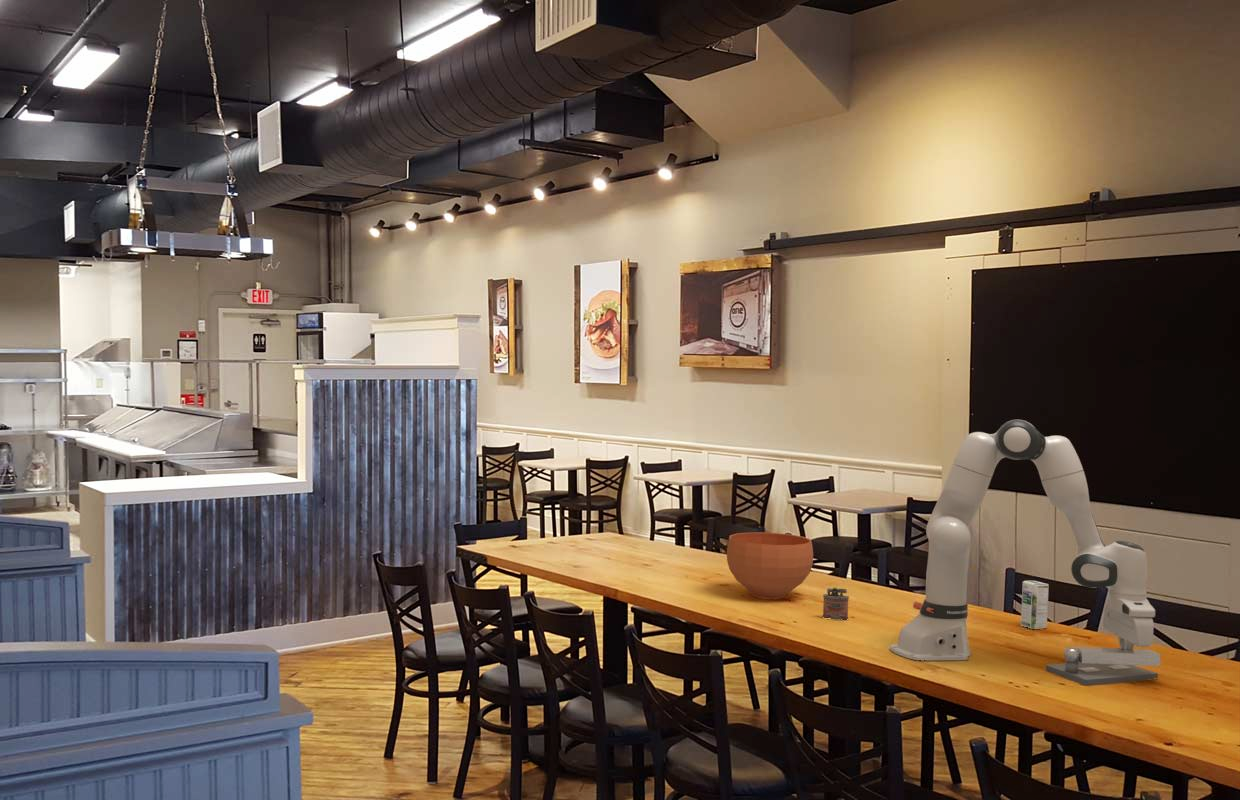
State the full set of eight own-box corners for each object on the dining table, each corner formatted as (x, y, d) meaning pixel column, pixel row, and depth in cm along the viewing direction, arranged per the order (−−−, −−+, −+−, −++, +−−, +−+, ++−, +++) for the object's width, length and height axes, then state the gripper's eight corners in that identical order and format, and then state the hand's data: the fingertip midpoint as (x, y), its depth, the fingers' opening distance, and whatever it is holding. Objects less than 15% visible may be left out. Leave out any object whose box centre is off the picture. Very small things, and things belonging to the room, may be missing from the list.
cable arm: (1068, 662, 260) (1069, 651, 260) (1061, 657, 265) (1061, 646, 265) (1160, 666, 260) (1160, 654, 260) (1150, 660, 265) (1150, 649, 265)
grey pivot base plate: (1085, 685, 256) (1086, 669, 256) (1045, 670, 269) (1046, 654, 269) (1157, 679, 264) (1158, 663, 264) (1115, 664, 277) (1115, 649, 277)
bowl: (793, 609, 335) (795, 548, 334) (711, 598, 350) (713, 539, 349) (823, 594, 361) (824, 537, 360) (745, 584, 376) (747, 529, 375)
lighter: (822, 619, 322) (823, 588, 322) (822, 616, 326) (823, 586, 325) (848, 621, 320) (849, 589, 320) (848, 618, 324) (849, 587, 323)
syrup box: (1019, 626, 320) (1021, 580, 320) (1034, 625, 322) (1036, 580, 322) (1033, 630, 315) (1034, 584, 315) (1047, 629, 317) (1049, 583, 317)
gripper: (1097, 594, 277) (1096, 644, 277) (1133, 611, 256) (1132, 665, 256) (1121, 595, 277) (1119, 645, 277) (1159, 612, 256) (1157, 666, 256)
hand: (1125, 655), depth 266 cm, fingers closed
